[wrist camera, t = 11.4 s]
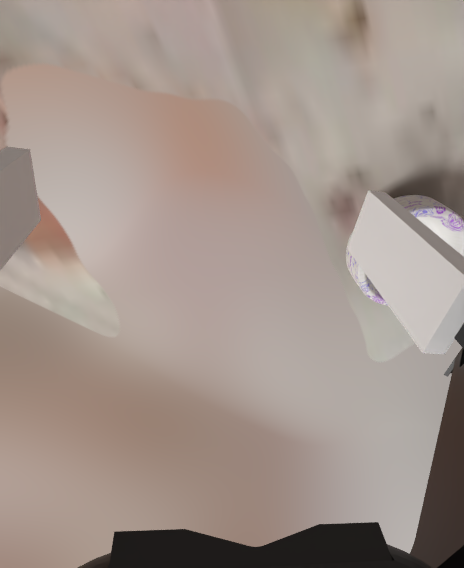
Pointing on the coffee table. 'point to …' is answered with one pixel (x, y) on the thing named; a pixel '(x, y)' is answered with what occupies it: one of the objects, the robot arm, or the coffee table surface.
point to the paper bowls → (430, 214)
